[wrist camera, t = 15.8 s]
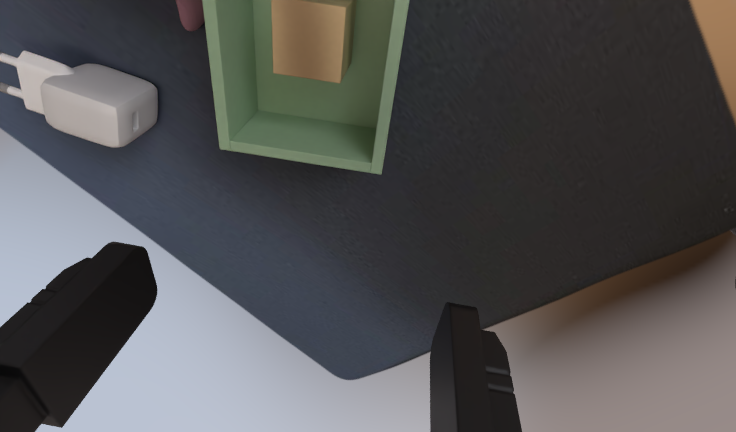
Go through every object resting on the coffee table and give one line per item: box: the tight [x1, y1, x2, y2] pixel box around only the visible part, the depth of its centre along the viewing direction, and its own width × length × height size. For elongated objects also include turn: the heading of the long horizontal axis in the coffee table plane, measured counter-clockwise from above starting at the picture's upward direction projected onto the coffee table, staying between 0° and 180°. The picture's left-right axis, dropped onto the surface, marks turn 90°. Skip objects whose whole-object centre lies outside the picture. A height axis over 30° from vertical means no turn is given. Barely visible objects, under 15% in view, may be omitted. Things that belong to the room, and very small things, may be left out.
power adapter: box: [0, 51, 158, 147], centre depth 30 cm, size 11×5×6 cm, turn 71°
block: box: [271, 0, 357, 83], centre depth 26 cm, size 4×4×5 cm
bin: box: [202, 0, 409, 174], centre depth 25 cm, size 12×16×7 cm
